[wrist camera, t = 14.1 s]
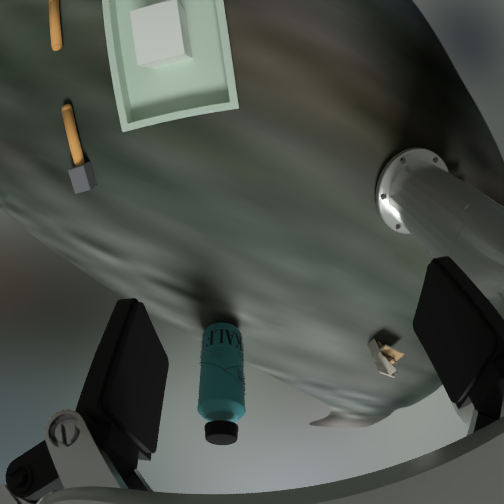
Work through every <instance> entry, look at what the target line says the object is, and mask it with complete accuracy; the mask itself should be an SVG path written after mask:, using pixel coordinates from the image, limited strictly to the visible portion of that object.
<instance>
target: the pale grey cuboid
mask: <svg viewBox="0 0 504 504" xmlns="http://www.w3.org/2000/svg"><path fill="white" fill-rule="evenodd" d="M130 16H131V24H132V32H133V39H134V45H135V52H136V58H137V64H138V66H143V67H148V68H153V69H154V68H158V67H162V66H166V65H170V64H174V63H179V62H183V61H188V60H193V55H192V48H191V42H190V35H189V29H188V22H187V15H186V12H185V10H184V9H183V7H182V6H181V4H180V3H179V1H178V0H169V1H165V2H161V3H157V4H154V5H150V6H147V7H143V8H140V9H137V10H133V11H130Z"/></svg>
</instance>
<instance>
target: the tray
mask: <svg viewBox="0 0 504 504" xmlns="http://www.w3.org/2000/svg"><path fill="white" fill-rule="evenodd" d="M165 1H169V0H102V4H103V15H104V24H105V33H106V41H107V49H108V56H109V62H110V69H111V75H112V81H113V87H114V92H115V98H116V103H117V108H118V113H119V118H120V123H121V127H122V132H126V131H129V130H133V129H137V128H141V127H145V126H149V125H153V124H157V123H161V122H166V121H170V120H175V119H180V118H185V117H190V116H195V115H200V114H206V113H212V112H218V111H224V110H231V109H238V108H239V106H238V99H237V92H236V85H235V78H234V71H233V64H232V57H231V50H230V43H229V36H228V29H227V23H226V16H225V9H224V2H223V0H178V1H179V3H180V4H181V6H182V7H183V9H184V10H185V12H186V15H187V22H188V29H189V35H190V42H191V48H192V55H193V60H188V61H183V62H179V63H174V64H170V65H166V66H162V67H158V68H154V69H153V68H148V67H143V66H138V64H137V58H136V52H135V45H134V39H133V32H132V24H131V16H130V11H133V10H137V9H140V8H143V7H147V6H150V5H154V4H157V3H161V2H165Z"/></svg>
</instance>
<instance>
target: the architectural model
mask: <svg viewBox="0 0 504 504" xmlns="http://www.w3.org/2000/svg"><path fill="white" fill-rule="evenodd" d="M368 347H369V349H370V351H371V354H372V356H373V359H374V361H375V363H376V366H377V368H378V371H379V373H382V374H385V375H388V376H390V377H393V378H395V375H394V372H395V371H396V369H395V368H394V367H393V365H392V364H394V363H396V364H397V360H398V359H400V358H401V357H402V356H403V355H404V353H402V352H400V351H398V350H396V349H394V348H392V347H390V346H388V345H386V344H385V345H384V346H383V345H382V344H381V343H380V342H379V341H378V343H376V341H375V338H374V339H372V340H371V341H370V342H369V343H368ZM396 372H397V371H396Z"/></svg>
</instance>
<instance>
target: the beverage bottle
mask: <svg viewBox="0 0 504 504" xmlns="http://www.w3.org/2000/svg"><path fill="white" fill-rule="evenodd" d="M202 335H203V336H202V337H203V340H201V341H202V342H201V343H202V350H201V351H202V353H201V372H200V386H199V399H198V409H197V410H198V413H199V414H200V415H201V416H202V417H203V418H205V419H206V420H207V421H209V422H208V423H206V425H205V437H206V440H207V441H208V442H209V443H212V444H216V445H229V444H232V443H235V442H236V441H237V435H238V425H237V424H235V423H234V422H236V421H237V420H239V419H240V418H241V417H242V416H243V415H244V413H245V411H246V409H245V400H244V399H245V398H244V396H245V394H244V391H245V389H244V385H245V384H244V374H243V363H244V362H243V361H244V359H243V355H244V354H243V353H242V350H243V348H242V345H243V343H242V339H243V338H242V336H241V333H240V331H239V329H238V328H237V327H235V326H233V325H231V324H228V323H215V324H212V325H210V326H209V327H207V328H206V330H205V331H204V332H203V334H202Z"/></svg>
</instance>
